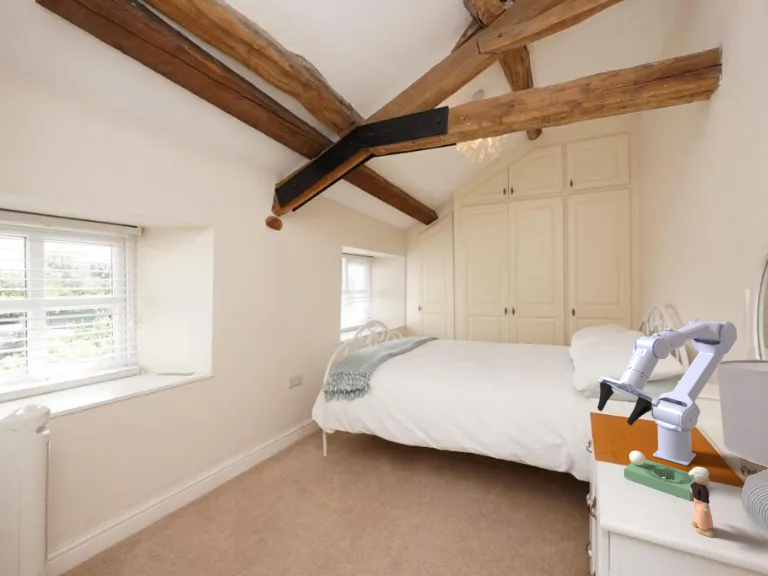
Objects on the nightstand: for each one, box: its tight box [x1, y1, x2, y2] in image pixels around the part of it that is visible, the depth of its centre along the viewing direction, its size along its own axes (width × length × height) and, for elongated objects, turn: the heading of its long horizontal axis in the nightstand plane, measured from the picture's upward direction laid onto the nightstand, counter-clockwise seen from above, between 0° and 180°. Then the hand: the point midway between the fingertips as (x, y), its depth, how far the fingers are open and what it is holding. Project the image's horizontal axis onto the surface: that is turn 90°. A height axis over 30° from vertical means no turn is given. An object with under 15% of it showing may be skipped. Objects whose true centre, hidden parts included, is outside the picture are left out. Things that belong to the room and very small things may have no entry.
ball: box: [628, 450, 647, 466], centre depth 99 cm, size 4×4×4 cm
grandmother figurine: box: [688, 466, 715, 538], centre depth 77 cm, size 8×4×13 cm, turn 168°
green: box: [623, 459, 695, 502], centre depth 95 cm, size 10×14×2 cm
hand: (613, 416), depth 100 cm, fingers open, 7 cm apart
